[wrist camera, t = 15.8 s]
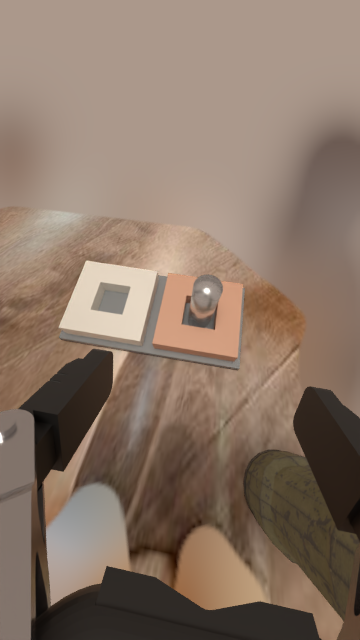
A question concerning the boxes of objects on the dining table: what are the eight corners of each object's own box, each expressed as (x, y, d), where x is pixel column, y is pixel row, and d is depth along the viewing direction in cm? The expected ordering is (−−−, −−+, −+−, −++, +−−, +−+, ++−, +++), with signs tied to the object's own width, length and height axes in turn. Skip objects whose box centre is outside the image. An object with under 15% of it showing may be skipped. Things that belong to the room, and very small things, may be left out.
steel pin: (186, 327, 36) (191, 298, 26) (189, 307, 37) (195, 272, 28) (209, 330, 36) (222, 302, 26) (210, 310, 37) (223, 276, 28)
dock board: (61, 339, 36) (50, 332, 33) (90, 268, 41) (83, 255, 38) (237, 369, 34) (243, 365, 31) (243, 291, 40) (248, 280, 37)
